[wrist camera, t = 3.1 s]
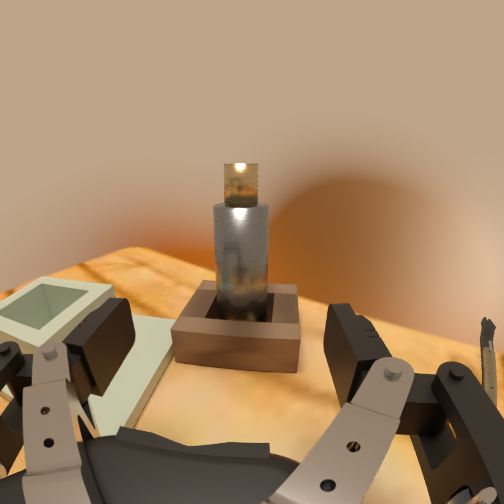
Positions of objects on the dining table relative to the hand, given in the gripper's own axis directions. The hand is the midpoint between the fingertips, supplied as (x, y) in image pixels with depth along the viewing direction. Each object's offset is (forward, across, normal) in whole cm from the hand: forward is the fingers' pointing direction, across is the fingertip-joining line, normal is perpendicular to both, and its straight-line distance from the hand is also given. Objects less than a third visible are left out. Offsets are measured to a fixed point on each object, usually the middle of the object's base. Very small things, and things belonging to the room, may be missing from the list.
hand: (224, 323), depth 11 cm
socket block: (+11, 0, +8) cm, 14 cm away
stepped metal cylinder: (+11, 0, +8) cm, 14 cm away
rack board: (+5, +16, +8) cm, 18 cm away
